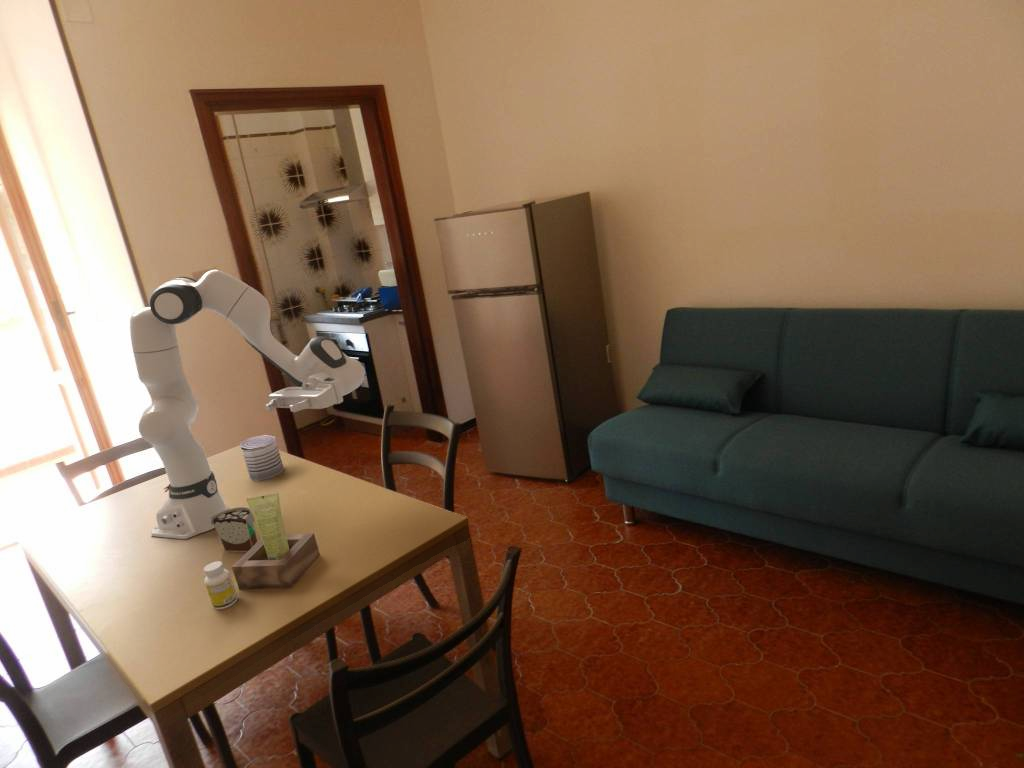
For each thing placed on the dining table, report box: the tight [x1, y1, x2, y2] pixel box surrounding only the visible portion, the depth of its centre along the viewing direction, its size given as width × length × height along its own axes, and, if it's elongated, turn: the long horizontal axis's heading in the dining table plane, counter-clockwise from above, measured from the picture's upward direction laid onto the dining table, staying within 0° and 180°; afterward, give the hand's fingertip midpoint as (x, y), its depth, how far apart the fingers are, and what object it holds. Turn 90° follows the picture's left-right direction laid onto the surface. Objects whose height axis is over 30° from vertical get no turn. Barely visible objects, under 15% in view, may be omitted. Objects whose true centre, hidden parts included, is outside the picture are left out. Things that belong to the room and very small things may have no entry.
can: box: [239, 434, 285, 482], centre depth 234 cm, size 11×11×12 cm
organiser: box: [231, 532, 321, 590], centre depth 169 cm, size 14×14×6 cm
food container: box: [211, 506, 258, 553], centre depth 185 cm, size 12×6×10 cm, turn 71°
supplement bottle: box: [203, 560, 239, 611], centre depth 159 cm, size 5×5×10 cm
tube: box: [245, 492, 289, 560], centre depth 166 cm, size 6×5×20 cm
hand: (279, 408), depth 181 cm, fingers open, 8 cm apart
